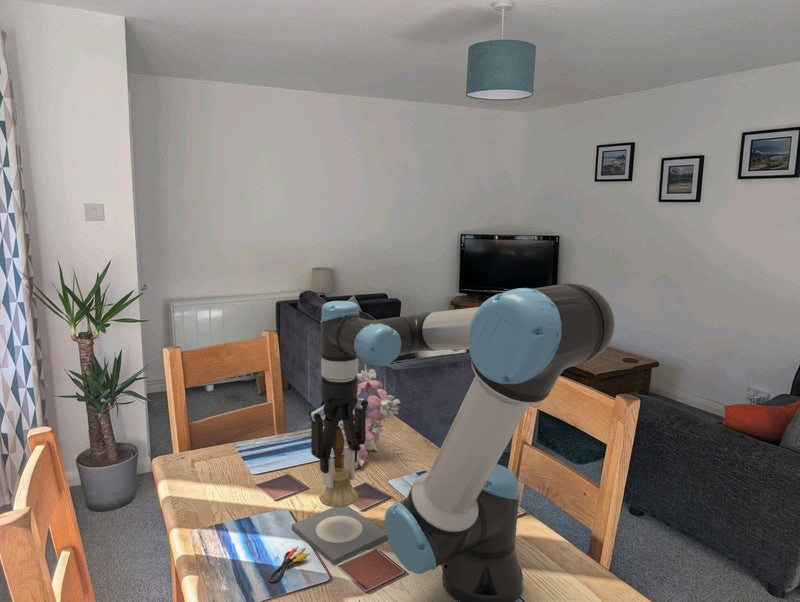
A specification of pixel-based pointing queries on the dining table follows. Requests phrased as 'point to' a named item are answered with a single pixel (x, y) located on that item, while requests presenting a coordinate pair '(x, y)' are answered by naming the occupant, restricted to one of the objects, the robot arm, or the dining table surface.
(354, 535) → the board
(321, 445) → the robot arm
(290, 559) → the composite cable
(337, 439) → the hand bell
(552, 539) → the dining table surface
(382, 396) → the flower
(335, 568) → the dining table surface
